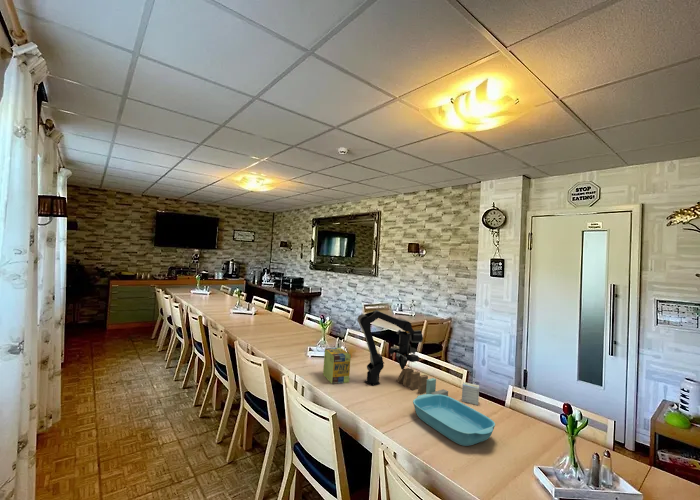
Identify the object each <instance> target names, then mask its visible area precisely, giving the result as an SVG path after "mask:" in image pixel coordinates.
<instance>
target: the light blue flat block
mask: <svg viewBox="0 0 700 500" xmlns="http://www.w3.org/2000/svg"><path fill="white" fill-rule="evenodd" d="M436 386H437V379H436V378H434V377H432V378H428V379H427V386H426V393H425V394H431V393H432V392H435V391H437V390H436Z"/></svg>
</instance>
